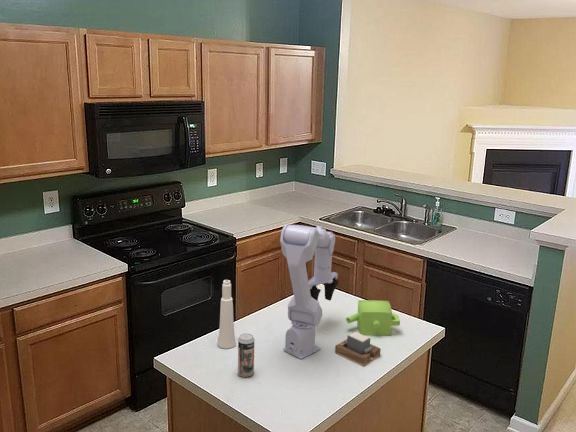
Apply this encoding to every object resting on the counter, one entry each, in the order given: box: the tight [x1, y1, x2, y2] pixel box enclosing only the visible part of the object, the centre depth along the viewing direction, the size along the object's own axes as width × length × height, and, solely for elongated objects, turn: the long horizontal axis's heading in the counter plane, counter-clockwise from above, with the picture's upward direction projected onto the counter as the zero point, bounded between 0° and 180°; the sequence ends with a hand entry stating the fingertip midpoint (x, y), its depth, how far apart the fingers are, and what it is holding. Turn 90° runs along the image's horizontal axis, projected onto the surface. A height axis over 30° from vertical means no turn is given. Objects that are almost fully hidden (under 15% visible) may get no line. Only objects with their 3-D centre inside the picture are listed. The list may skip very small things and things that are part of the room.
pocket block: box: [334, 338, 382, 367], centre depth 171 cm, size 9×11×3 cm
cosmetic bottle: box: [216, 279, 237, 350], centre depth 171 cm, size 6×6×22 cm
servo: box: [344, 331, 372, 355], centre depth 170 cm, size 4×8×6 cm, turn 46°
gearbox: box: [345, 299, 401, 336], centre depth 185 cm, size 18×10×10 cm, turn 89°
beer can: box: [237, 333, 256, 378], centre depth 157 cm, size 5×5×12 cm
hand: (320, 302), depth 185 cm, fingers open, 7 cm apart
